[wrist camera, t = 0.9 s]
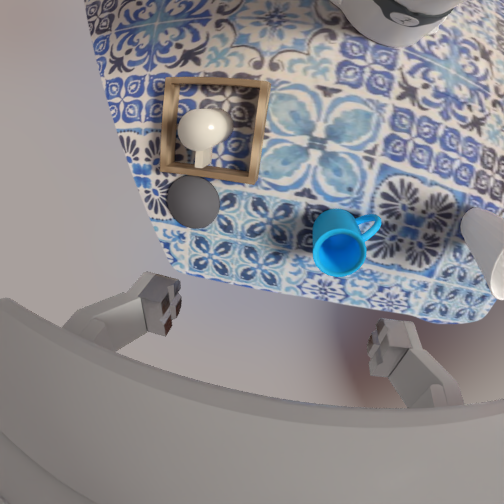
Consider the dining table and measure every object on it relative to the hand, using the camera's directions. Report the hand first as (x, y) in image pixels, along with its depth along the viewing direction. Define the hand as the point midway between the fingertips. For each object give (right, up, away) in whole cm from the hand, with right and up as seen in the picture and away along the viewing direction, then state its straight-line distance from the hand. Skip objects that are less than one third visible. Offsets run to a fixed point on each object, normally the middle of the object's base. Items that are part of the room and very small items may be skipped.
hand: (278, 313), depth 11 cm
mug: (+15, +7, +35) cm, 39 cm away
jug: (-7, +22, +31) cm, 39 cm away
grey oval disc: (-12, +11, +38) cm, 41 cm away
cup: (+41, +8, +29) cm, 51 cm away
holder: (-7, +23, +31) cm, 39 cm away
